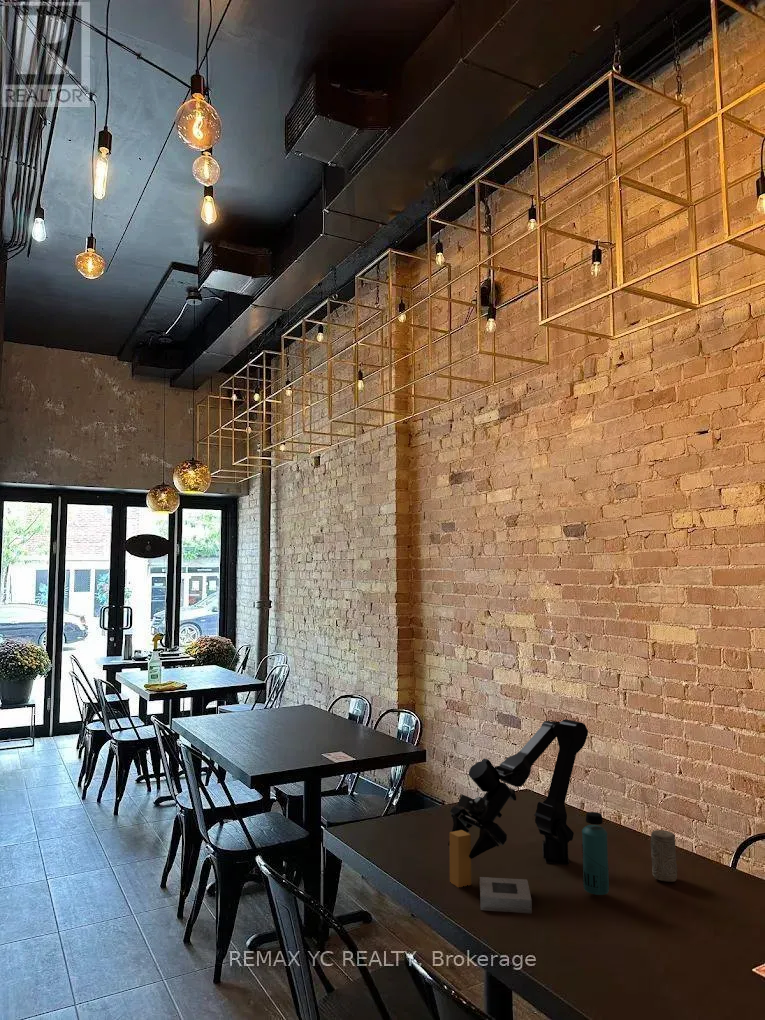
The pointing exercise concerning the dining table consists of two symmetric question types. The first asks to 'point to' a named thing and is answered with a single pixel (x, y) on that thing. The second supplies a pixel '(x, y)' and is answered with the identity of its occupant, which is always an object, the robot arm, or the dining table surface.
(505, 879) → the gray square socket base
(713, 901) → the dining table surface
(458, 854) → the orange rectangular block
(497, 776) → the robot arm
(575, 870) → the dining table surface
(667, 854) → the decorative vessel
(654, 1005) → the dining table surface
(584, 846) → the beverage bottle
